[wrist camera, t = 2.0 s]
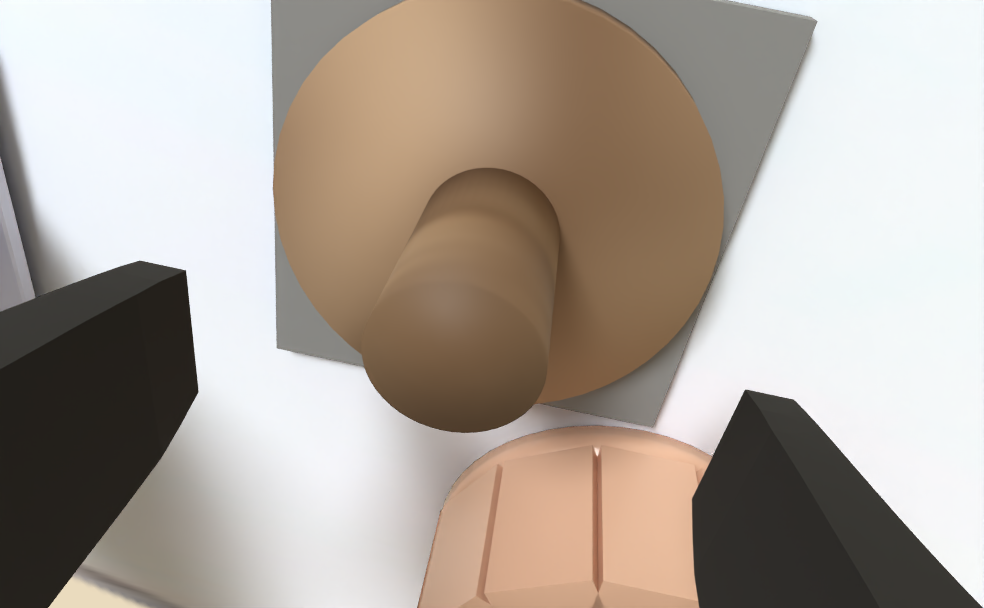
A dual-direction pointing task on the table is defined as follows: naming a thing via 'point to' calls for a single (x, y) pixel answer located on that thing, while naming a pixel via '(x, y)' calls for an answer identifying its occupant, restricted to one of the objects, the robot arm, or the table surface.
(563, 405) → the mat
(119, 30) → the table surface
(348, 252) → the lid
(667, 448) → the peach cylinder
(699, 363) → the table surface
